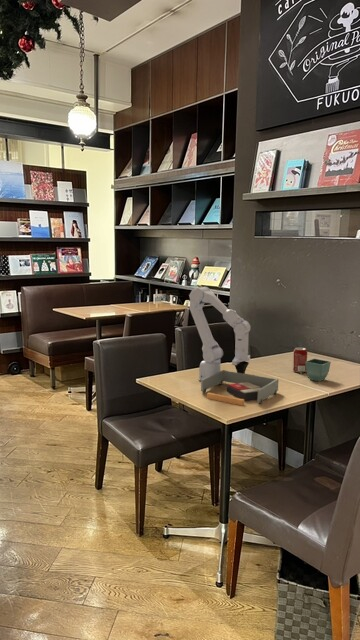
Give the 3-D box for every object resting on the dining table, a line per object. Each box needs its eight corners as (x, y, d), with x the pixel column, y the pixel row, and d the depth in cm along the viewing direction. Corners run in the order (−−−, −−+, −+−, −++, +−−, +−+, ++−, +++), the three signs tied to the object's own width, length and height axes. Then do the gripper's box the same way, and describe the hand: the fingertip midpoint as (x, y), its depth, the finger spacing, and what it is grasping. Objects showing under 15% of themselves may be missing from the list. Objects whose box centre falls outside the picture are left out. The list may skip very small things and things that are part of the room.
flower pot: (321, 383, 213) (322, 364, 211) (304, 379, 218) (305, 361, 217) (330, 379, 219) (331, 361, 218) (312, 376, 225) (313, 358, 224)
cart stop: (207, 398, 189) (207, 393, 189) (208, 397, 191) (209, 392, 190) (242, 405, 181) (242, 400, 180) (244, 404, 182) (244, 399, 182)
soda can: (306, 373, 230) (308, 350, 228) (292, 372, 231) (293, 349, 229) (305, 370, 236) (307, 347, 234) (292, 369, 237) (293, 346, 236)
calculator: (248, 381, 203) (267, 388, 190) (248, 390, 204) (267, 398, 190) (226, 383, 199) (244, 391, 185) (226, 393, 199) (244, 402, 186)
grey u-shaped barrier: (200, 393, 196) (201, 379, 195) (222, 382, 212) (223, 370, 211) (259, 405, 181) (259, 390, 180) (278, 392, 198) (278, 379, 197)
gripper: (242, 352, 198) (241, 382, 200) (256, 346, 210) (255, 375, 212) (228, 350, 202) (227, 380, 204) (242, 344, 214) (241, 373, 216)
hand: (240, 377), depth 208 cm, fingers closed
